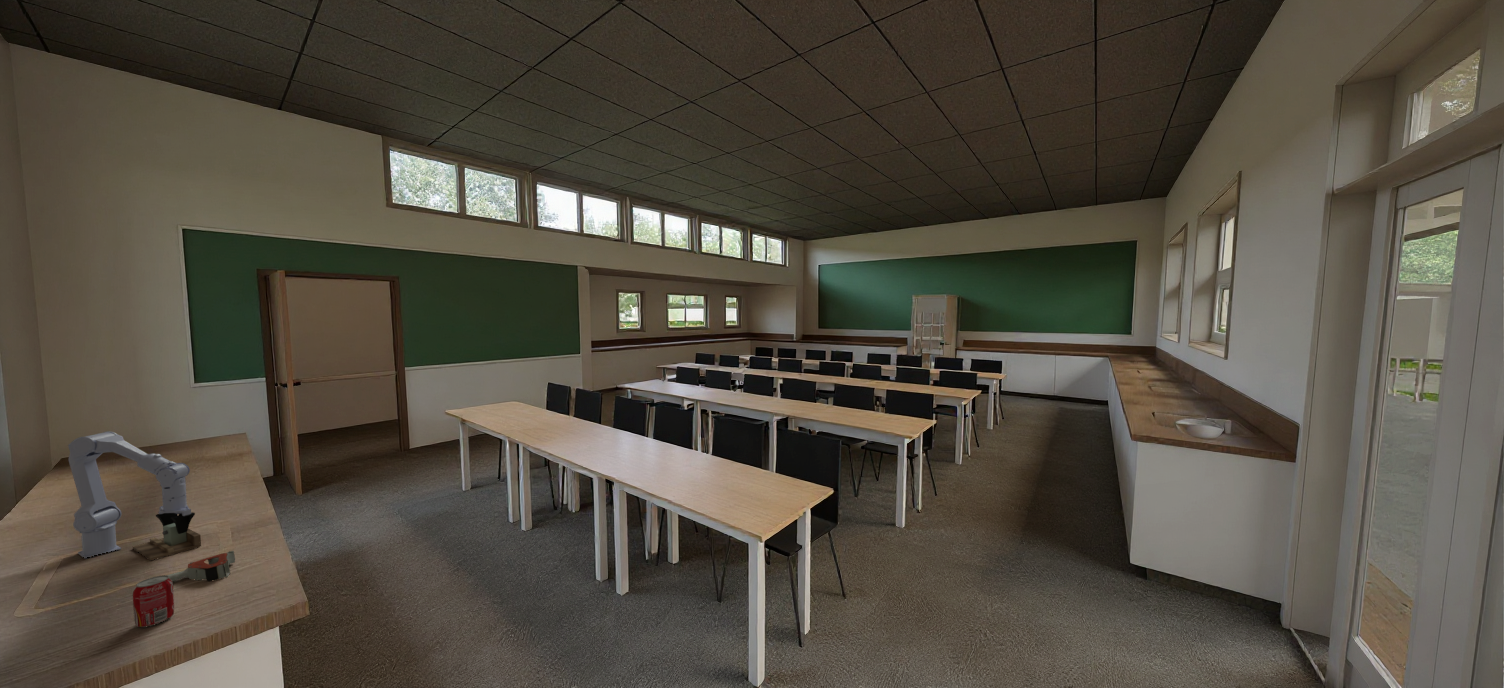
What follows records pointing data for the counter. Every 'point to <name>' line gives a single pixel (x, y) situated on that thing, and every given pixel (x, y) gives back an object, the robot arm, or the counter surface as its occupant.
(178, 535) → the cabinet block
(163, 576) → the soda can
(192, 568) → the tape dispenser
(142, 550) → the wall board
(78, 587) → the counter surface
